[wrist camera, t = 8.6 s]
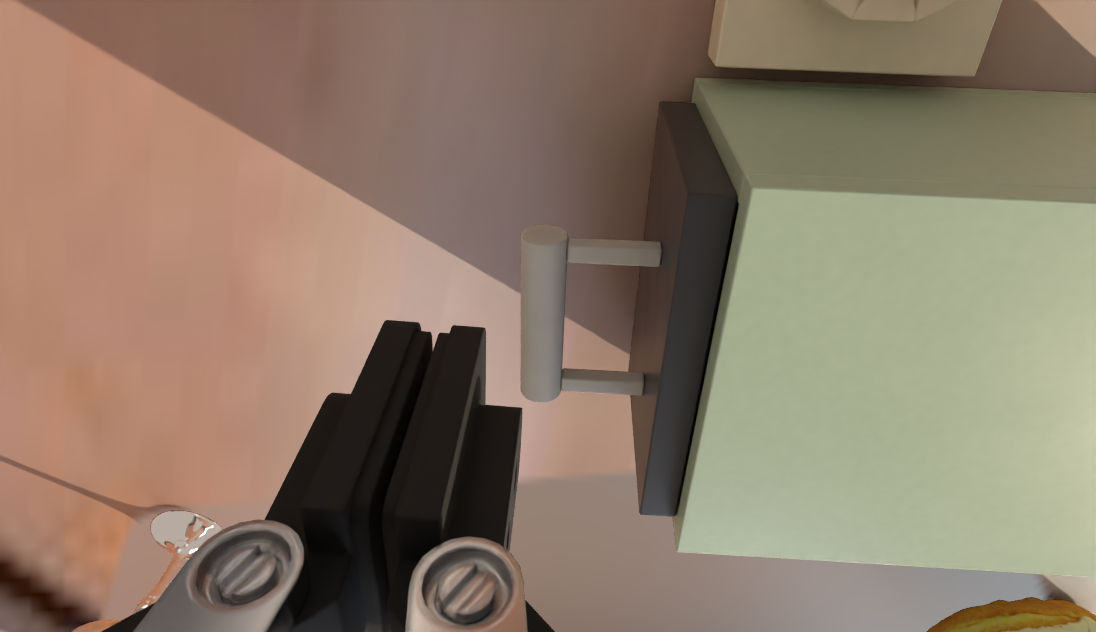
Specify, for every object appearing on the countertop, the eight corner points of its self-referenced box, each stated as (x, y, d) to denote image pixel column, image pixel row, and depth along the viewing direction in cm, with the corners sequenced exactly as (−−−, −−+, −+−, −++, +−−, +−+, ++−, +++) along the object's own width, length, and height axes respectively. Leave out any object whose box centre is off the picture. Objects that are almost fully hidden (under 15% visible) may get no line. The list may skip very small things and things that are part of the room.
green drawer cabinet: (653, 369, 30) (676, 552, 22) (694, 76, 23) (751, 186, 15) (987, 387, 29) (1138, 580, 21) (1135, 94, 22) (1444, 217, 14)
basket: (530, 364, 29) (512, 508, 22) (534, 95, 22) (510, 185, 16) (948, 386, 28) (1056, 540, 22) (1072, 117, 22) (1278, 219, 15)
